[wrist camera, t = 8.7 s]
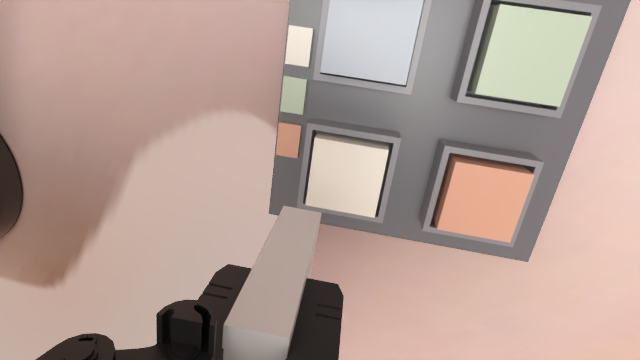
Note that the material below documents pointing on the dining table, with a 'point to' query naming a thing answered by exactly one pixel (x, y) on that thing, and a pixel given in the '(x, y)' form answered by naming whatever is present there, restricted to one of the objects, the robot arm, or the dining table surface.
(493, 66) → the sage key
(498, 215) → the terracotta key
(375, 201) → the cream key
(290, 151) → the keypad
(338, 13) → the slate key
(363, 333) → the dining table surface
